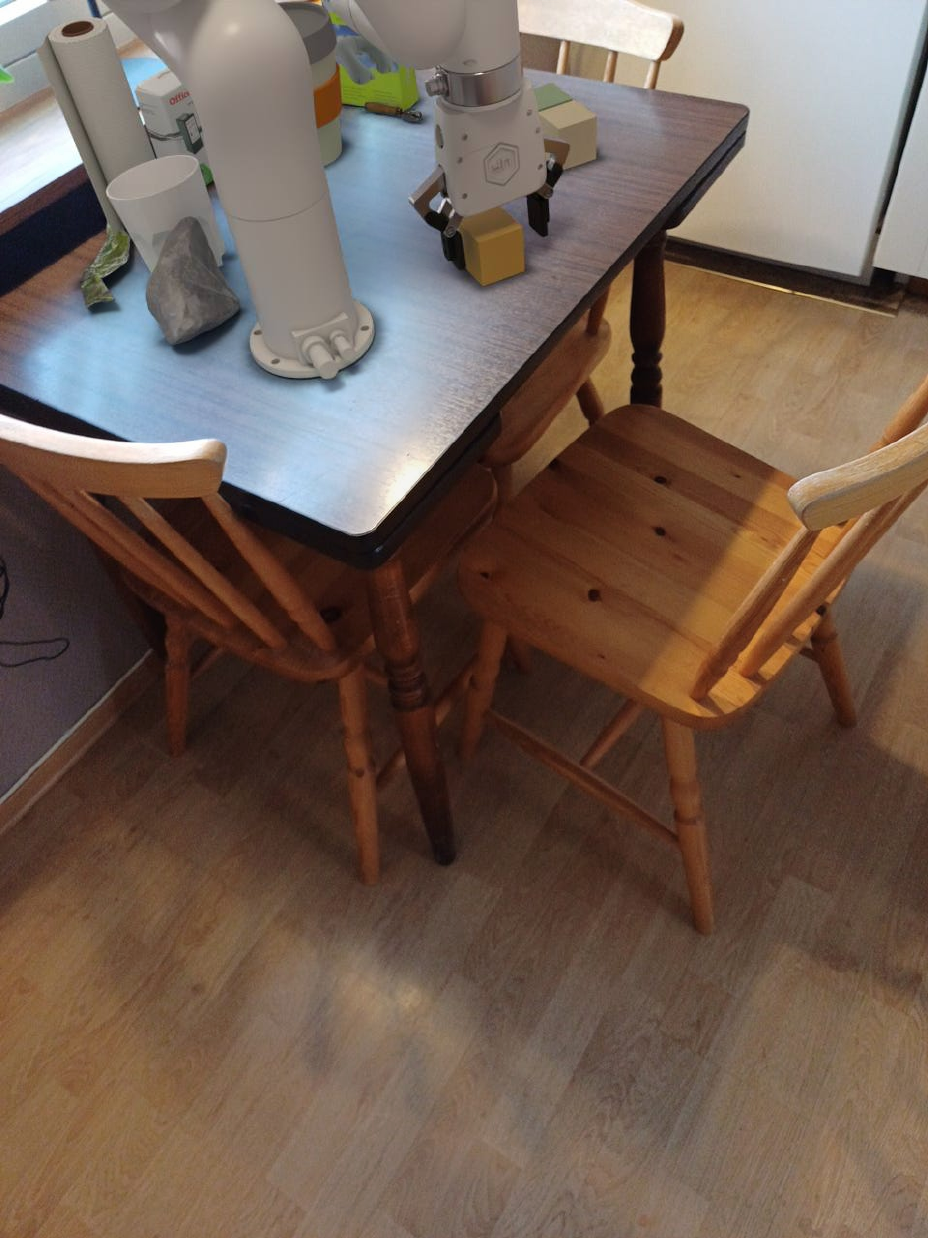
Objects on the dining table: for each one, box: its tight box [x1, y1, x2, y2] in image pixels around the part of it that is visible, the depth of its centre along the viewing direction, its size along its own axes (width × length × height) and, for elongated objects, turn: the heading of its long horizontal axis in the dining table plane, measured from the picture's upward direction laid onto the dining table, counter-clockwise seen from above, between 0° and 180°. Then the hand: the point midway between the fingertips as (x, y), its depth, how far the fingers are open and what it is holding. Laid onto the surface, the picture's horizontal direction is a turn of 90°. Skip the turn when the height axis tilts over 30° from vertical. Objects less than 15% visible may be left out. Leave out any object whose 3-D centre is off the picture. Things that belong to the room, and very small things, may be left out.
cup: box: [106, 155, 227, 275], centre depth 102 cm, size 10×10×10 cm
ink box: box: [133, 67, 214, 187], centre depth 114 cm, size 9×5×12 cm, turn 146°
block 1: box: [533, 82, 574, 112], centre depth 114 cm, size 5×5×5 cm
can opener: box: [364, 102, 423, 122], centre depth 123 cm, size 9×2×1 cm, turn 56°
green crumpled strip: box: [79, 220, 132, 309], centre depth 109 cm, size 6×25×2 cm, turn 178°
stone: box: [144, 216, 240, 346], centre depth 97 cm, size 12×11×10 cm
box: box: [320, 0, 419, 111], centre depth 120 cm, size 10×4×17 cm, turn 63°
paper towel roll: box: [35, 16, 157, 238], centre depth 104 cm, size 7×6×21 cm
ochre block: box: [457, 205, 526, 287], centre depth 99 cm, size 5×5×5 cm
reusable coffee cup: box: [277, 0, 343, 167], centre depth 114 cm, size 13×13×15 cm
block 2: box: [539, 99, 598, 171], centre depth 111 cm, size 5×5×5 cm
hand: (498, 247), depth 99 cm, fingers open, 9 cm apart
